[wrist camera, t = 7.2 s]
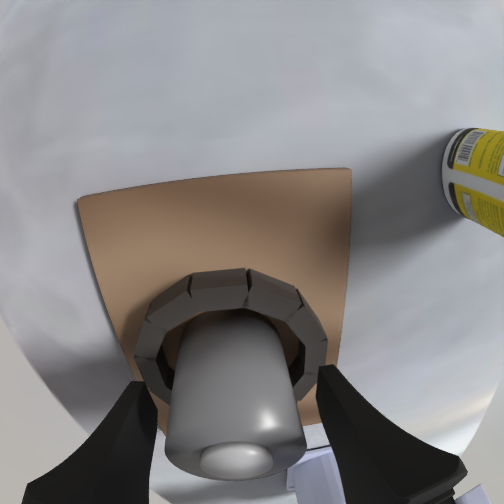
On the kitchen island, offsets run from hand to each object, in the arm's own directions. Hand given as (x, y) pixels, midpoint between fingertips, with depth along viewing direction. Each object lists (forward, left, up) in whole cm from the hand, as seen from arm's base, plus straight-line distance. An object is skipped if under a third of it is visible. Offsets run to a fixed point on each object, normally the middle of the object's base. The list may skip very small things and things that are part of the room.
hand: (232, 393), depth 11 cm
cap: (0, 0, -3) cm, 3 cm away
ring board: (0, 0, -3) cm, 3 cm away
